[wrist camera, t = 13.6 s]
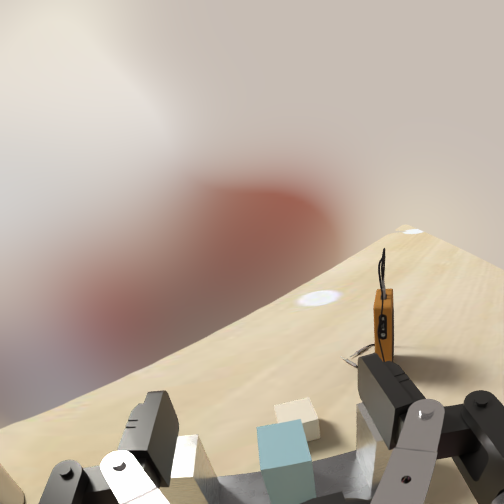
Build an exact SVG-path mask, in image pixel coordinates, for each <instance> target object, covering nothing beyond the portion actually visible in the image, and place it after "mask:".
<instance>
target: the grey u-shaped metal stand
mask: <svg viewBox="0 0 504 504" xmlns="http://www.w3.org/2000/svg"><path fill="white" fill-rule="evenodd" d="M356 406H357V434H356V450H355V451H351V452H348V453H344V454H341V455H337V456H333V457H330V458H326V459H322V460H317V461H313V462H312V465H313V474H314V482H315V491H316V497H321V496H325V495H329V494H333V493H337V492H341V491H342V492H343V495H344V498H359V499H366V500H371V501H372V499H373V497H374V494H375V492H376V490H377V488H378V485H379V483H380V481H381V478H382V476H383V474H384V471H385V469H386V466H387V464H388V461H389V459H390V456H391V454H392V451H393V449H392V450H388V448H387V446H386V444H385V442H384V441H383V439H382V437H381V435H380V433H379V431H378V429H377V428H376V426H375V424H374V422H373V420H372V418H371V417H370V415H369V413H368V411H367V409H366V407H365V406H364V404H363V402H362V403H359V404H356ZM159 491H160V492H161V493H162V494H163V496H164V497H165V498H166V499H167V501H168V502H169V503H170V504H271V501H270V498H269V495H268V492H267V489H266V486H265V483H264V480H263V476H262V473H261V472H254V473H247V474H239V475H230V476H220V477H217V476H216V474H215V472H214V470H213V468H212V465H211V463H210V461H209V459H208V456H207V454H206V452H205V450H204V447H203V445H202V443H201V440H200V438H199V436H198V435H187V436H178V438H177V444H176V449H175V455H174V461H173V467H172V473H171V479H170V486H169V487H160V488H159Z"/></svg>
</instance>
